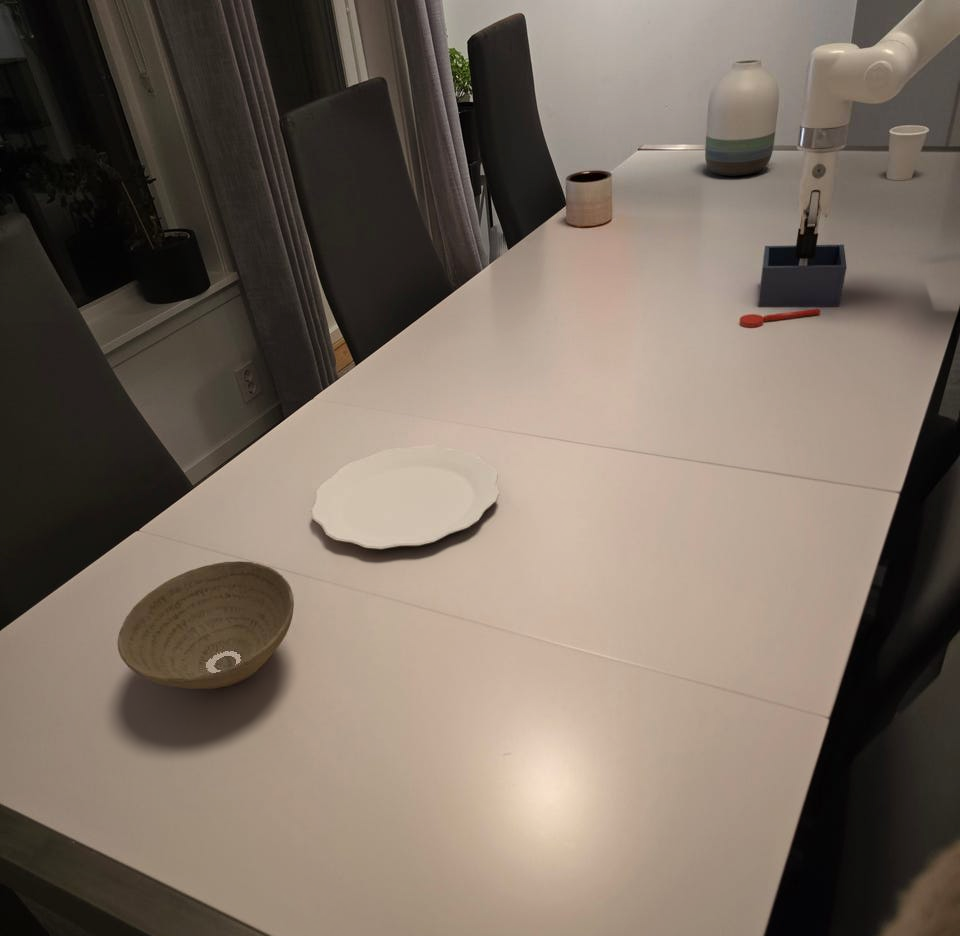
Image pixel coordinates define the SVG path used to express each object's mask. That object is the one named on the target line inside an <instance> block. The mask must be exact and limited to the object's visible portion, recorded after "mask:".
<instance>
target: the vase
mask: <svg viewBox="0 0 960 936" xmlns="http://www.w3.org/2000/svg"><path fill="white" fill-rule="evenodd" d="M709 95H710V96H709V99H708V104H707V117H706V133H705V147H704V148H705V149H704V150H705V151H704V157H705V162H706V163H705V164H706V166H707V168H708V169H709V171H711V172H712V173H714V174H716V175H720V176H727V177H737V176H747V175H750V174H755V173H758V172H760V171H762V170H763V169H764V168H766V167H767V165H768V164H769V163H770V160H771V158H772V155H773V153H774V152H773V151H774V146H775V137H776V132H777V131H776V130H777V122H778V121H777V120H778V113H779V102H780V91H779V86H778V83H777V80H776V79H775V78H774V77H773V76H772V75H771V74H770V73H769V72H768V71H767V70H766V69H764V68H763V66H762V60H761V59H759V58H745V59H744V58H743V59H739V60H735V61H733V64H732V67H731V68H730V70H729V71H728V72H727V73H726V74H724V76H722V77H721V78H720V79H719V80H718V81H717V82H716V83H715V85H714V86H713V88H712V90H711V92H710V94H709Z"/></svg>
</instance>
